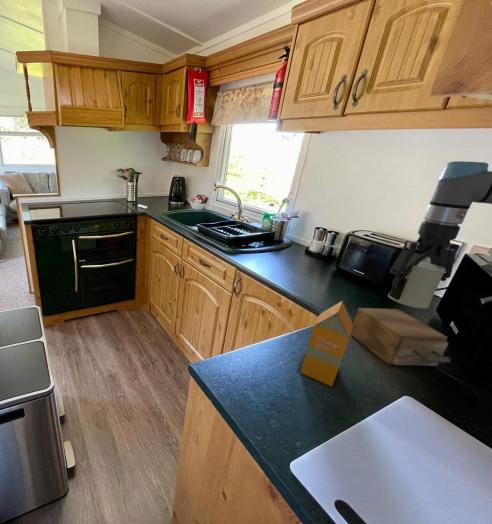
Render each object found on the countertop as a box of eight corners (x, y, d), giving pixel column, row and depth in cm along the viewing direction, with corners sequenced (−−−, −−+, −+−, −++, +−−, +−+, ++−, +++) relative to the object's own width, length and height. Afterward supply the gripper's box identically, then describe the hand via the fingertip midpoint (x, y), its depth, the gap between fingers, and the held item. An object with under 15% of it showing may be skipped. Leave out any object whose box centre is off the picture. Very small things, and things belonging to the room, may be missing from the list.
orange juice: (337, 369, 79) (360, 305, 72) (332, 387, 73) (357, 318, 66) (306, 356, 84) (325, 295, 77) (299, 372, 77) (319, 306, 71)
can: (436, 311, 79) (455, 271, 75) (395, 304, 82) (412, 265, 78) (419, 297, 88) (435, 260, 83) (383, 291, 90) (397, 255, 86)
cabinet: (433, 365, 84) (447, 337, 80) (388, 364, 83) (401, 336, 79) (387, 334, 98) (398, 309, 95) (349, 333, 98) (358, 307, 94)
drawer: (452, 376, 78) (465, 352, 75) (409, 375, 77) (420, 351, 75) (393, 336, 96) (401, 315, 93) (357, 335, 95) (364, 314, 92)
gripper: (416, 223, 73) (385, 303, 80) (495, 228, 74) (456, 305, 82) (391, 217, 80) (364, 291, 87) (463, 221, 81) (430, 293, 89)
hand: (409, 298), depth 85 cm, fingers closed on can, 9 cm apart
